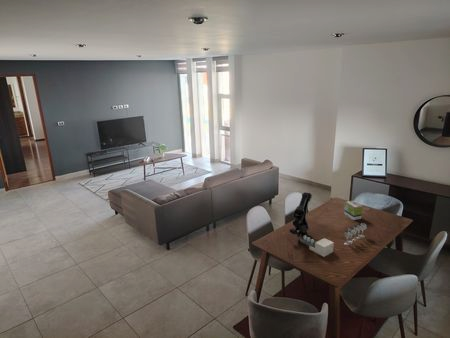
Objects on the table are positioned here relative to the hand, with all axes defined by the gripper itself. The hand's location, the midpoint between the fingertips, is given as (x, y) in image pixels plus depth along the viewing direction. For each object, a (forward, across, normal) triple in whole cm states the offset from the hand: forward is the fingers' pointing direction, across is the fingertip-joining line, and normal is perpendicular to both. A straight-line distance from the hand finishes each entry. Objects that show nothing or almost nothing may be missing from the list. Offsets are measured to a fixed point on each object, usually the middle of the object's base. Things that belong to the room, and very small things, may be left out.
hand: (298, 237), depth 280 cm
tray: (+2, 0, -12) cm, 12 cm away
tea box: (+2, +78, -4) cm, 78 cm away
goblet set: (+2, +38, -32) cm, 50 cm away
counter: (+2, 0, -25) cm, 25 cm away
